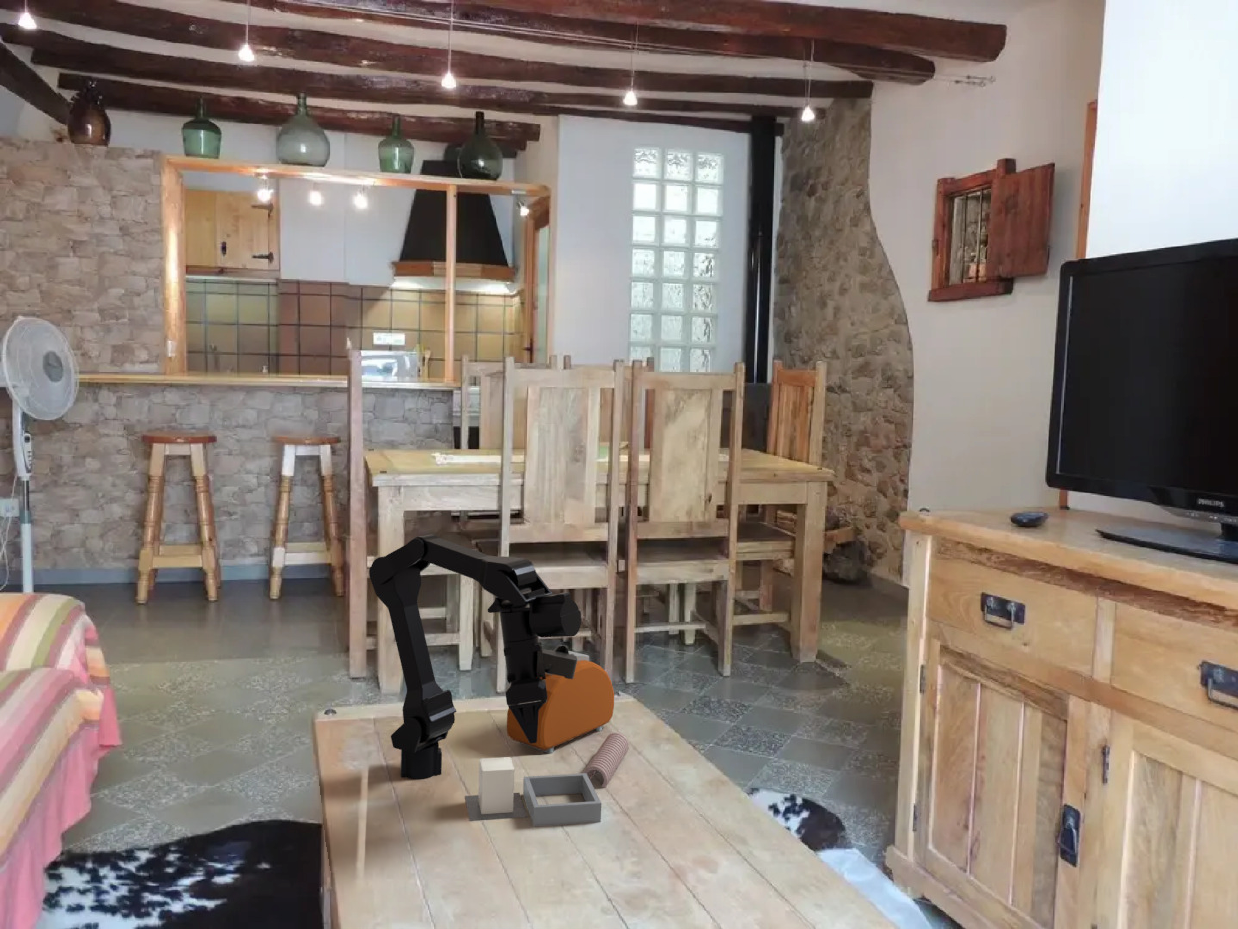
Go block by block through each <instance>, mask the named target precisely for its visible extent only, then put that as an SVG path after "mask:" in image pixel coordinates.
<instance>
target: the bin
mask: <svg viewBox="0 0 1238 929" xmlns="http://www.w3.org/2000/svg"><path fill="white" fill-rule="evenodd" d="M590 780H591V779H590ZM590 780H589V778H588V776H587V774H586V773H583V772H580V773H568V774H567V773H566V774H549V775H548V774H546V775H530V776H523V785H522V796H523V798H524V801H525V802H524V803H525V805H526V807H527V811H528V814H529V817H530V820H531V823H532V827H548V826H563V825H564V826H565V825H575V824H591V823H593V824H594V823H601V820H602V800H600V797H599V795H598V793H597V792H596V789H595V787H594V785H593V783H592V781H590ZM570 794H573V795H574V794H582V796H583V799H584V800H585V801H580V802H579V801H577V802H576V801H575V802H566V803H565V802H564V803H563V802H561V803H549V804H539V802H538V798H537V797H539V796H541V797H542V796H552V795H553V796H554V795H557V796H558V795H570Z"/></svg>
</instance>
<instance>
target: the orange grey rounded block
mask: <svg viewBox="0 0 1238 929" xmlns="http://www.w3.org/2000/svg"><path fill="white" fill-rule="evenodd" d="M568 652H569V654H574V655H575V656H576V657H577V664H576V669H575V673H574V678H573V679H567V678H565V677H564V676H559V675H554V674H549V673H546V672H545V677H546V679H543V680H545V681H546V689H547V697H548V699H547V702H546V703H545V704H544V705H543V706H542V707H541V708H540V710H539V716H538V732H537V742H536V743H529V741H528V739H527V737H526V736H525V734H524V732H523V730H522V729H521V727H520V725H519V723H518V722H517V720H516V718H515V717H514V715H513V713H512V712H511V710H510V709H509V708H508V709H507V715H506V733H507V737H509V738H510V739H511V740H512V741H515V742H518V743H520V744H521V745H524V746H526V747H529V748H533V749H535V750H538V751H541V752H544V753H547V754H552V753H553V752H554V749H555V747H556V746H558V745H561V744H564V743H565V742H569V741H570V740H573V739H575V738H577V737H580V736H582V735H584V734H587V733H589V732H591V731H597V732H601V731H602V730H603V726H604V725H606V724H608V723H609V722H610V721H611V719H612V718H613V715H614V709H615V690H614V687H613V683H612V680H611V678H610V676H609V674H608V672H607V671H606V670H605V669H604V668H603V667H602V666H601V665H599V664H597V663H595V662H593V661H590V655H587V654H584V653H580V652H576V651H572V650H568ZM537 678H538V677H537ZM541 679H542V677H541Z"/></svg>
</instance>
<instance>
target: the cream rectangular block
mask: <svg viewBox="0 0 1238 929" xmlns="http://www.w3.org/2000/svg"><path fill="white" fill-rule="evenodd" d="M513 763H514V762H513V761H512V758H511V756H508V757H507V756H504V757H491V758H489V757H488V758H487V757H486V758H479V764H478V765H479V768H478V769H479V770H478V773H479V774H478V801H479V806H480V810H481V814H492V813H507V812H513V797H514V793H515V767H514V764H513Z"/></svg>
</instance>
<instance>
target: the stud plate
mask: <svg viewBox="0 0 1238 929" xmlns="http://www.w3.org/2000/svg"><path fill="white" fill-rule="evenodd" d="M464 799H465V803H466V810H467V814H468V821H469V822H475V821H477V822H478V821H493V820H507V819H518V818H519V819H522V818H528V814H527V813H526V809H525V806H524V803H523V799H522V796H521V793H520V792H514V797H513V812H507V813H492V814H481V810H480V806H479V801H478V795H477V794H476V795H474V794H473V795H464Z"/></svg>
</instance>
